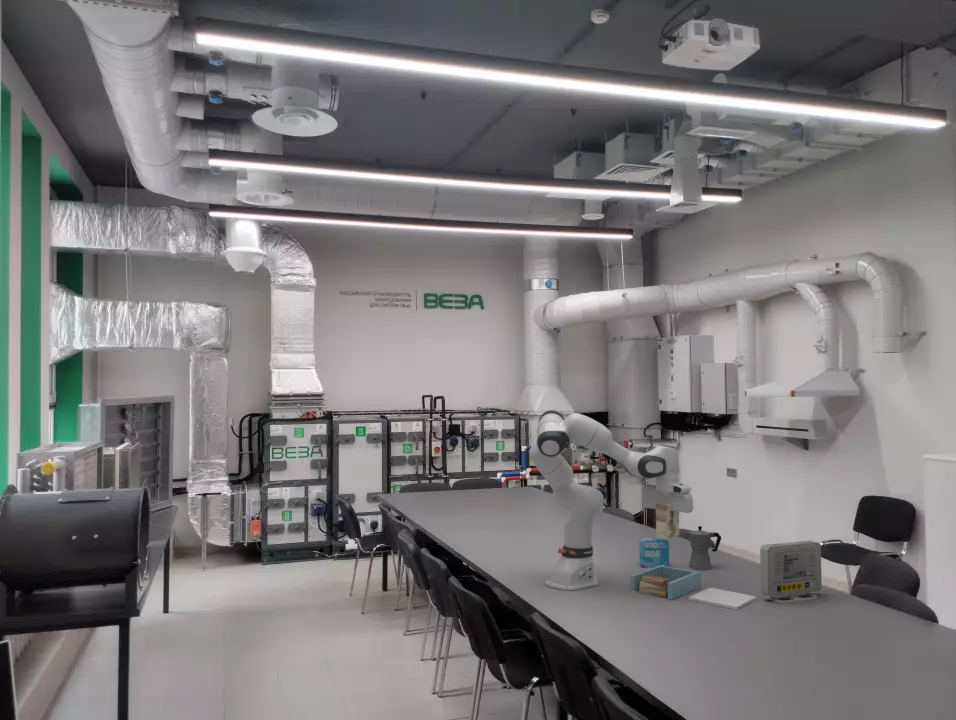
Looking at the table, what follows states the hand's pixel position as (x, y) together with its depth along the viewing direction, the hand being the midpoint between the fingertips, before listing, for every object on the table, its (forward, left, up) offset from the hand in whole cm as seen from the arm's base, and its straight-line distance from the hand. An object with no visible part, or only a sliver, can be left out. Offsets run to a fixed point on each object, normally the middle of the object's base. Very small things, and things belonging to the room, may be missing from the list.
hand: (667, 521), depth 281 cm
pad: (0, -22, -26) cm, 34 cm away
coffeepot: (+41, +5, -26) cm, 49 cm away
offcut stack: (-10, 0, -26) cm, 28 cm away
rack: (-1, 0, -26) cm, 26 cm away
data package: (+29, +22, -26) cm, 45 cm away
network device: (+20, -40, -26) cm, 52 cm away
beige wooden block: (0, 0, -6) cm, 6 cm away
